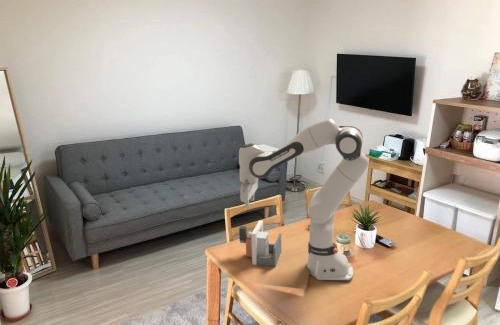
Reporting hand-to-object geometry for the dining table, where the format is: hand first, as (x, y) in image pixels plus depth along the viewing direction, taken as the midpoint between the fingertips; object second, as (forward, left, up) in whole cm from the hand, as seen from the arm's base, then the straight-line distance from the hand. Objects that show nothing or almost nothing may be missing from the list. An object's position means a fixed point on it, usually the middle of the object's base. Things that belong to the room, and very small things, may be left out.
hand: (249, 203), depth 190 cm
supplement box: (-5, 0, -29) cm, 29 cm away
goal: (-9, 0, -29) cm, 30 cm away
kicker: (+1, 0, -29) cm, 29 cm away
